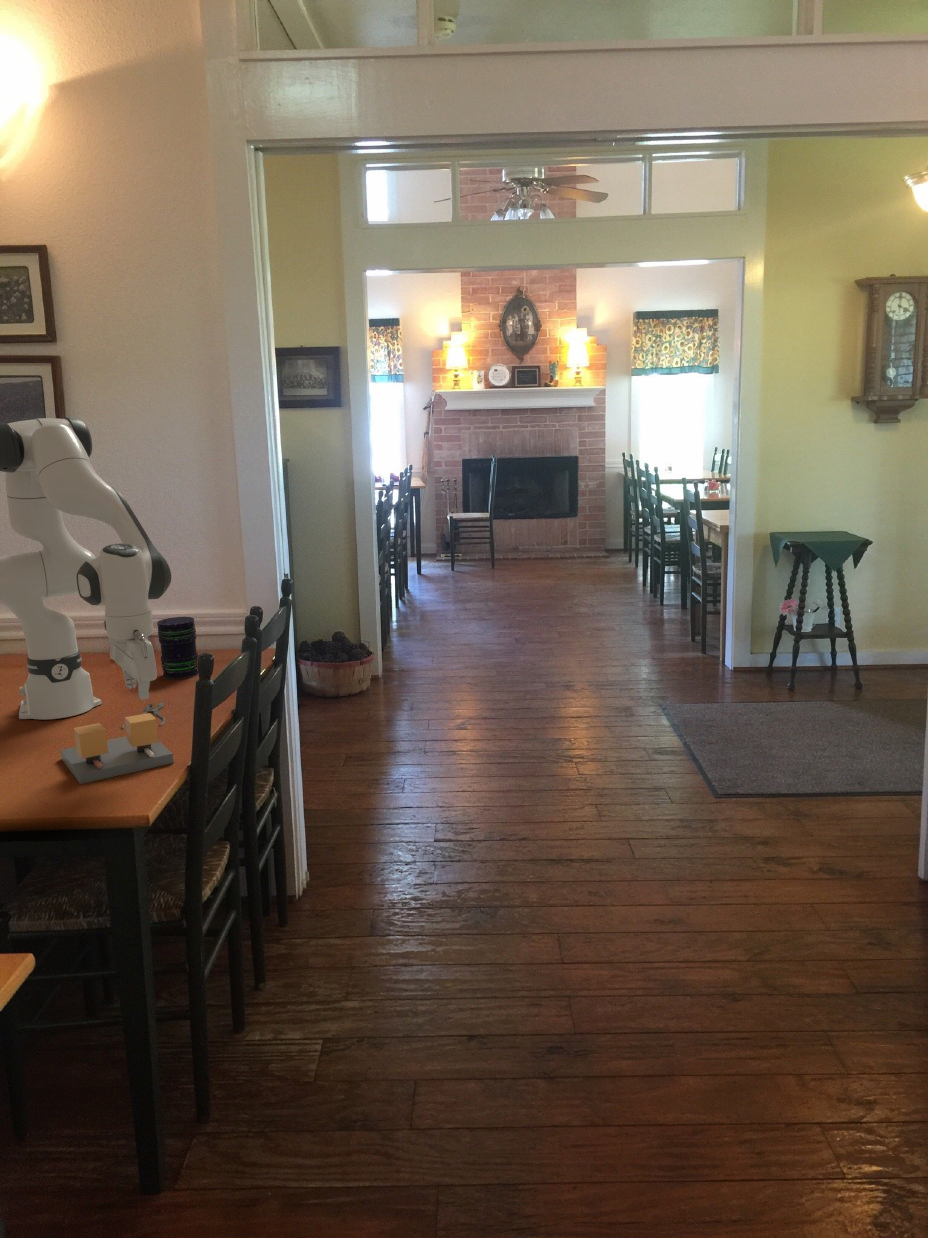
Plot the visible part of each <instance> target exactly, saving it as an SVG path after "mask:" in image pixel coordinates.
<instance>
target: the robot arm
mask: <svg viewBox="0 0 928 1238" xmlns="http://www.w3.org/2000/svg"><path fill="white" fill-rule="evenodd" d="M92 453H93V440H92V434H91V432H90V429H89V427H88V426H87V424H85V422H84V421H83V420H81V419H79V418H74V417H63V418H56V417H55V418H54V417H53V418H52V417H46V418H45V417H44V418H43V417H41V418H33V419H25V420H18V421H13V422H8V423H7V422H1V423H0V472H1V473H2V472H3V473H5V477H4V478H5V493H6V499H7V508H8V516H9V525H10V526H11V529H12V530H13V531H14V532H15V533H16V534H18V535H20V536H21V537H24V538H26V539H30V540H32V541H36V542H38V543H39V544H41V545H42V550H40V551H32V552H24V553H23V552H22V553H13V554H7V555H3V556H0V604H2V605H4V606H5V608H8V610H9V611H11V612H12V613H13V614H14V616H15V617H16V619H17V620H18V621H19V624H20V625H21V627H22V631H23V635H24V640H25V644H26V649H27V650H26V651H27V655H28V656H27V658H26V666H27V672H28V677H27V678H26V681H25V683H24V684H23V685H22V686H19V694H20V697H24V698H23V699H22V700H21V701H20V706H19V712H18V719H19V720H30V719H31V720H32V719H33V720H56V719H63V718H69V717H73V716H78V715H80V714H84V713H87V712H89V711H90V710H91V709H93V708H95V707H98V706H99V705H102V699H100V698H97V697H95V696H94V693H93V692H94V691H93V685H92V680H91V675H90V673H89V672H88V671H87V670H86V669H84V668H83V667H82V665H83V664H82V662H83V661H82V655H81V652H80V650H79V649H78V641H77V633H76V632H77V631H76V627H75V622H74V621H73V619H72V618H71V617H70V616H69V615H67V614H65V613H63V612H60V611H57V610H54V609H51V608H48V607H46V606H45V605H44V602H43V601H44V599H47V598H56V597H61V596H62V597H63V596H70V595H76V594H78V595H79V597H80V598H81V599H82V600H83V601H85V602H86V603H88V604H89V605H91V606H98V607H99V606H100V607H101V606H102V607H103V606H104V607H105V610H104V617H105V618H104V620H103V627H104V630H105V631H106V636H107V638H108V641H109V646H110V650H111V651H110V652H111V656H112V659H113V661H114V663H116V665H118V666H119V667H121V671H122V675H123V678H124V681H125V682H124V683H125V687H126V688H128V689H135V688H137V687H138V689H137V695H138V698H139V699H140V700H142V701H144V700H147V699H149V698H150V691H149V690H150V684H151V682H152V681H155V680H156V679H157V676H158V671H157V664H156V657H155V651H154V646H153V643H152V642H151V641H150V640H149V636H151V635H153V634H154V633H155V628H154V621H153V612H152V606H151V604H150V601H149V600H158V599H160V598H161V597H162V596H164V594H165V593H166V591H167V590H168V589H169V587H170V585H171V583H172V572H171V571H172V570H171V568H170V565H169V563H168V562H167V560H166V558H165V557H164V556H163V555H162V554H161V552H159V550H158V549H157V547H156V546H155V545H154V544H153V542H152V540H151V539H150V538H149V537H150V536H148V533H147V532H146V531H145V529H144V527H143V525H142V524H141V523H140V521H139V519H138V517H137V516H136V514H135V513H134V512H135V511H133V509H132V507H131V506H130V505H129V503H128V501H127V500H126V498H125V497H124V496H123V494H122V493H121V492H120V491H119V490H118V489H117V488H114V487H112V486H110V485H109V484H108V483H106V481H104V480H103V479H102V478H101V477H100V475H98V473H97V472H96V471H95V469H94V466H93V465H92V462H91V460H90V457H91V455H92ZM62 512H63V513H65V514H69V515H72V516H78V517H84V518H89V519H92V520H96V521H100V522H101V523H105V524H107V525H108V526H110V527H111V528H112V529H113V530H114V531H115V532H116V534H117V536H118V538H119V539H120V541H121V542H122V543H112V544H108V545H105V546H104V547H102V548H101V550H100V552H99V555H98V556H95V554H94V553H93V552H91V550H89V549H87V548H85V547H84V546H82V545H80V544H79V543H78V542H77V541H76V540H75V539H74V538H73V537H72V535H71V534H70V532H69V531H68V529H67V527H66V525H65V522H64V518H63V517H64V516H63V513H62Z"/></svg>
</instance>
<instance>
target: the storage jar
mask: <svg viewBox="0 0 928 1238" xmlns="http://www.w3.org/2000/svg"><path fill="white" fill-rule="evenodd" d="M156 624H157V636H158V642H159V644H160V653H161V656H160V661H161V662H160V663H161V668H162V672H163V673H162V677H163V679H167V680H168V679H169V680H178V679H179V678H181V679H187V677H188V678H191V677H195V676H197V675H199V674H198V671H197V661H198V659H199V652H198V651H197V642H196V641H197V640H196V639H197V633H196V632H197V629H196V626H195V625H196V624H195V618H194V617H190V616H177V617H176V616H175V617H169V618H168V617H167V618H164V619H160V620H158V621H157V623H156ZM179 680H180V679H179Z"/></svg>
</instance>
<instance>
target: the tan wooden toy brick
mask: <svg viewBox="0 0 928 1238" xmlns="http://www.w3.org/2000/svg"><path fill="white" fill-rule="evenodd" d="M140 714H141V715H140ZM140 714H136V715H131V716H125V717H124V723H125V724H126V726H125V733H126V736H127V741H128V742H129V743H130V745H131V746H132V747H137V746H143V745H148V744H154V743H158V741H159V737H158V727H157V726H158V725H157V718H156V717H155V716H154V715H152V713H147V714H142V713H140Z"/></svg>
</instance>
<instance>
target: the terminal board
mask: <svg viewBox="0 0 928 1238" xmlns="http://www.w3.org/2000/svg"><path fill="white" fill-rule="evenodd" d="M73 735H74V741H75V746H71V747H68V748H67V747H66V748H63V749H60V757H61V760H62V762H63V763H64V764H65V765H66V767H67V768H68V769H69V771H70V772H71V774H72V775H73V776H74V777H75V779H76V780H77V782H78V783H79V784H80V785H83V784H87V783H90V782H91V783H92V782H97V781H100V780H106V779H109V778H114V777H118V775H119V776H122V775H127V774H133V773H135V772H140V771H144V770H148V769H149V770H150V769H153V768H158V767H162V766H163V767H164V766H167V765H170V764H174V755H173V754H174V753H173V752H172V751H171V750H169V749H168V748H167V747H166V746H165V745H164V744H163V743H162V742H160V741H159V740H158V743H154V744H148V745H143V746H137V747H132V746H131V745H130V743H129V742H128V741H127V735H125V736H120V737H115V738H110V739H107V730H106V728H105V727H104V725H102V724H101V722H96V723H91V724H86V725H83V726H77V727H73ZM105 778H106V779H105Z"/></svg>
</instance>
